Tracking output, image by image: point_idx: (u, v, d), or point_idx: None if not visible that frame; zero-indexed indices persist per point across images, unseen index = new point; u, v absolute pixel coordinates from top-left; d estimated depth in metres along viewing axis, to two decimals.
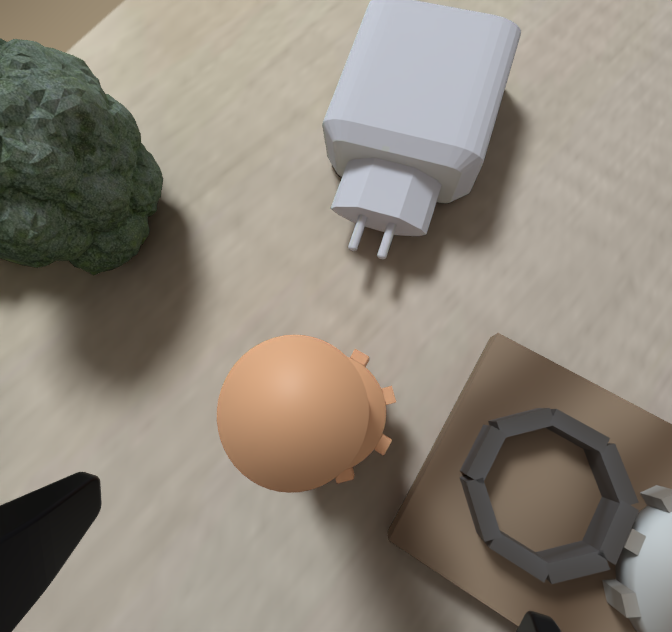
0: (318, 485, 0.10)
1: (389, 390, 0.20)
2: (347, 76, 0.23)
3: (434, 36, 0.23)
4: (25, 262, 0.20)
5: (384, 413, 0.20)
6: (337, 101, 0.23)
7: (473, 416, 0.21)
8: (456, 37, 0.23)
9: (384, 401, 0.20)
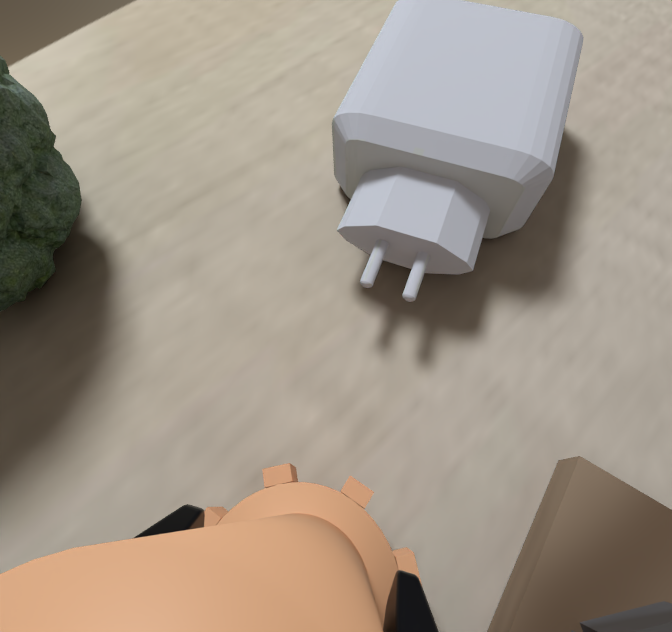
0: None
1: (409, 560, 0.11)
2: (368, 68, 0.18)
3: (479, 33, 0.18)
4: None
5: None
6: (354, 94, 0.17)
7: (552, 612, 0.12)
8: (507, 35, 0.18)
9: None
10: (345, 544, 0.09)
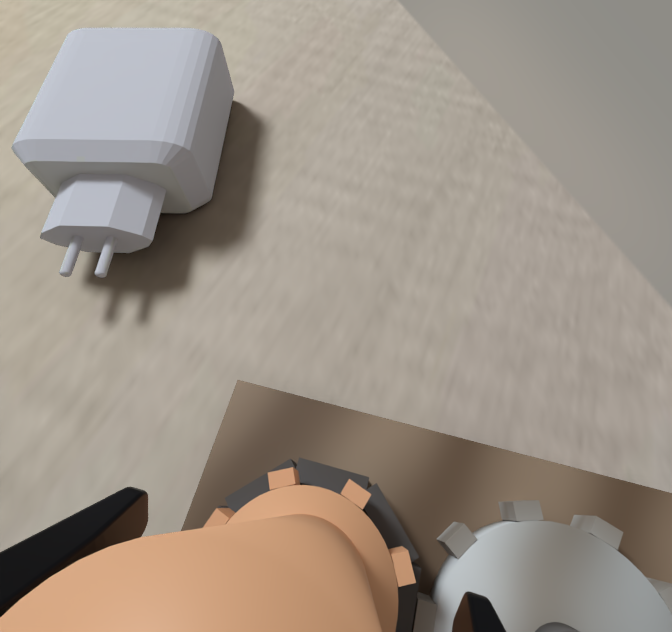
0: None
1: (403, 558, 0.12)
2: (36, 101, 0.21)
3: (127, 52, 0.22)
4: None
5: (395, 604, 0.11)
6: (24, 125, 0.21)
7: (216, 498, 0.16)
8: (149, 50, 0.22)
9: (395, 580, 0.12)
10: (345, 541, 0.09)
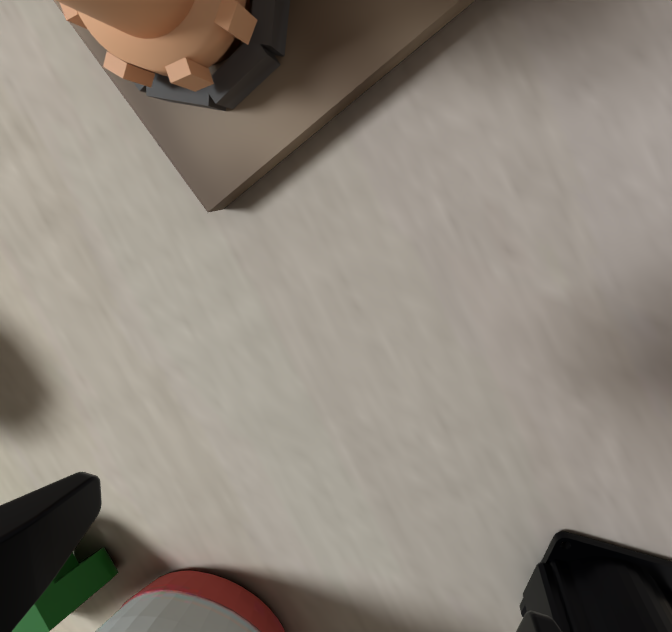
0: None
1: None
2: None
3: None
4: None
5: None
6: None
7: None
8: None
9: None
10: None
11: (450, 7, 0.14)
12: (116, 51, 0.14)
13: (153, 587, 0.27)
